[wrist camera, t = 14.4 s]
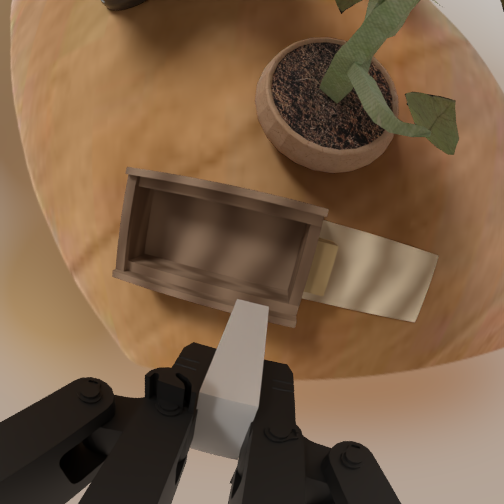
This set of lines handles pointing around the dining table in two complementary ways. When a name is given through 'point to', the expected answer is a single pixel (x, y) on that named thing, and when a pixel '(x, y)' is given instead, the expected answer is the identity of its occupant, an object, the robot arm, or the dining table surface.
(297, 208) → the box
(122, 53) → the dining table surface
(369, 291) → the lid
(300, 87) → the potted plant
